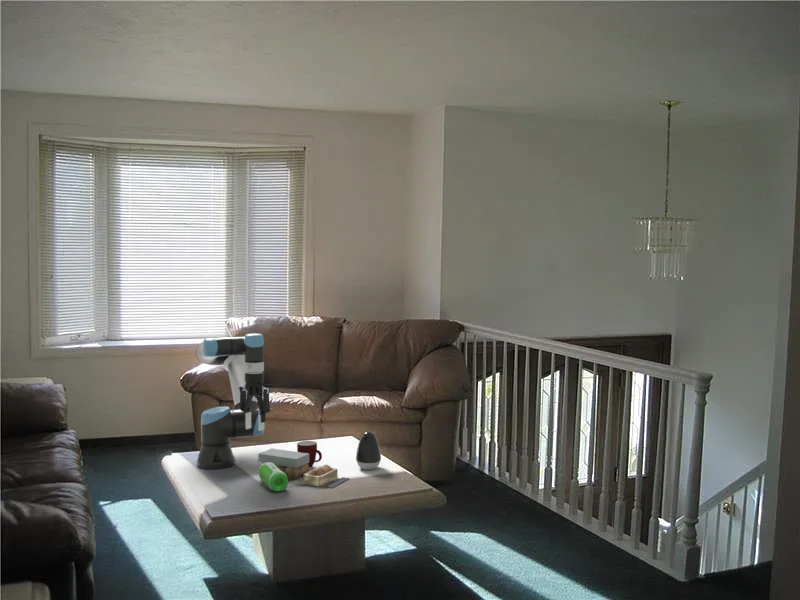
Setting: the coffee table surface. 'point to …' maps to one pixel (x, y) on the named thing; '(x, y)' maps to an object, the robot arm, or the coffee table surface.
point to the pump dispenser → (368, 452)
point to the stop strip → (337, 482)
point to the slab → (284, 458)
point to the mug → (309, 451)
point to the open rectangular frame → (320, 478)
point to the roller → (320, 470)
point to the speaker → (273, 476)
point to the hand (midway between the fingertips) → (254, 429)
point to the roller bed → (293, 471)
